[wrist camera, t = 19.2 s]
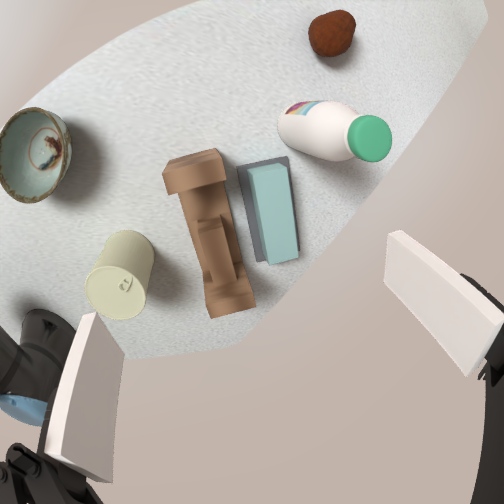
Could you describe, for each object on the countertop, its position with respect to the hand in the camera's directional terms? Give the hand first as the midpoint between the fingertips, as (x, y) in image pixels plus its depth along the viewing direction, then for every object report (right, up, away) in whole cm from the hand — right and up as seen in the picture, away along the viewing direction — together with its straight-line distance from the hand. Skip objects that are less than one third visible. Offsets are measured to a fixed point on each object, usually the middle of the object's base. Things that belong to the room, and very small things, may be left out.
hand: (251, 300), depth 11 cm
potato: (+11, +36, +21) cm, 44 cm away
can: (-21, +2, +33) cm, 39 cm away
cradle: (-7, +8, +32) cm, 34 cm away
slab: (+3, +9, +33) cm, 34 cm away
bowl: (-32, +18, +21) cm, 42 cm away
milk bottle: (+7, +22, +28) cm, 36 cm away
